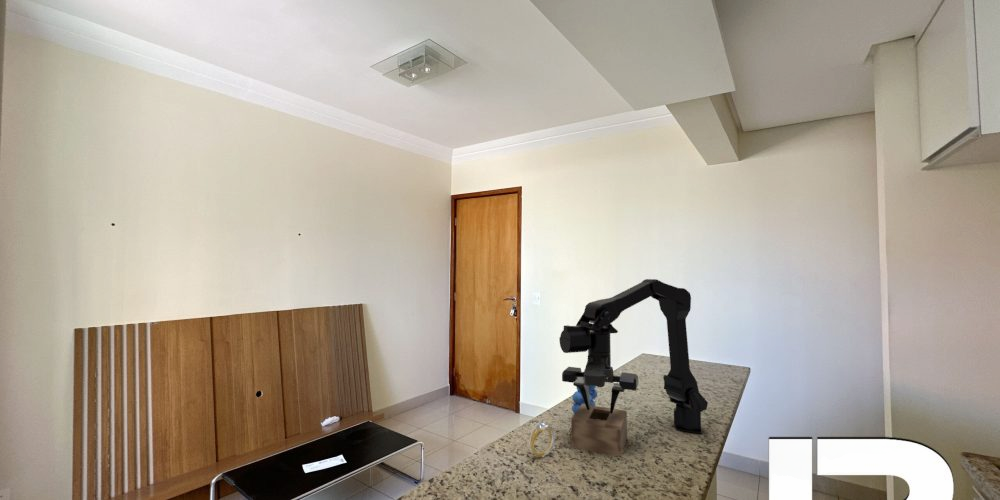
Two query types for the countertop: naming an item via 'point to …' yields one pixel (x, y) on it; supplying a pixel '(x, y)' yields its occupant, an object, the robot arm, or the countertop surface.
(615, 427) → the box
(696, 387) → the robot arm
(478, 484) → the countertop surface
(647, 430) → the countertop surface
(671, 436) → the countertop surface
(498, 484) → the countertop surface
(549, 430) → the ring
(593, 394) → the grapes
